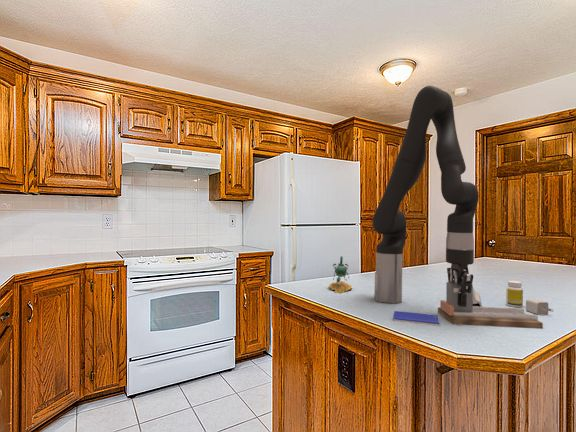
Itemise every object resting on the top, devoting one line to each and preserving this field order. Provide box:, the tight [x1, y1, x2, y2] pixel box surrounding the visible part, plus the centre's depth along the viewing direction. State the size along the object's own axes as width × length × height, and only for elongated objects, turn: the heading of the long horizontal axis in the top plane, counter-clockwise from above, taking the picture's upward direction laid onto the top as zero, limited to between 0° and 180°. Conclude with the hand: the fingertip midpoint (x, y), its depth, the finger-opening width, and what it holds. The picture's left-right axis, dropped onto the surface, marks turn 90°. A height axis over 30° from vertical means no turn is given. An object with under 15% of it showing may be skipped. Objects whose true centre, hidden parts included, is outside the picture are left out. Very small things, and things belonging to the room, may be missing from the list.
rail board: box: [437, 299, 544, 329], centre depth 100 cm, size 24×12×4 cm, turn 84°
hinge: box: [473, 287, 483, 307], centre depth 124 cm, size 17×5×10 cm, turn 152°
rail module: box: [445, 281, 474, 312], centre depth 101 cm, size 6×4×9 cm
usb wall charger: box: [525, 298, 554, 316], centre depth 108 cm, size 4×7×4 cm, turn 8°
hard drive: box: [392, 310, 441, 327], centre depth 99 cm, size 2×8×12 cm
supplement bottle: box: [505, 280, 524, 308], centre depth 117 cm, size 5×5×8 cm
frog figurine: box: [328, 256, 353, 294], centre depth 140 cm, size 10×18×15 cm, turn 164°
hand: (458, 304), depth 101 cm, fingers closed on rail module, 4 cm apart
